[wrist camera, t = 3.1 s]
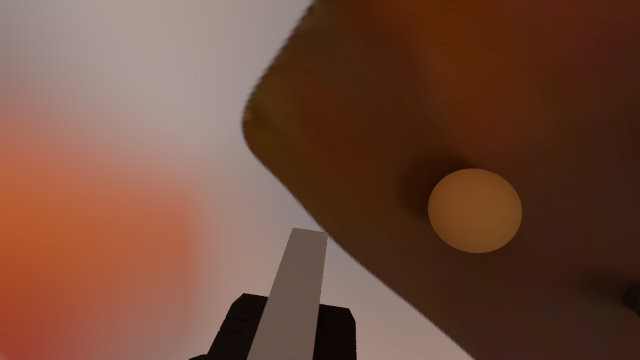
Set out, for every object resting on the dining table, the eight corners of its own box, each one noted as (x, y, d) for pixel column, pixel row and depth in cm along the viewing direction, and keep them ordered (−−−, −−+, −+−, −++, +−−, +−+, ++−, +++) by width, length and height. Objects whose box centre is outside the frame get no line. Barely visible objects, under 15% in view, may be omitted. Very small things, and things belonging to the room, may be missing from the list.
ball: (508, 164, 21) (557, 194, 16) (484, 231, 23) (522, 277, 18) (430, 153, 22) (454, 179, 17) (413, 221, 24) (429, 263, 18)
